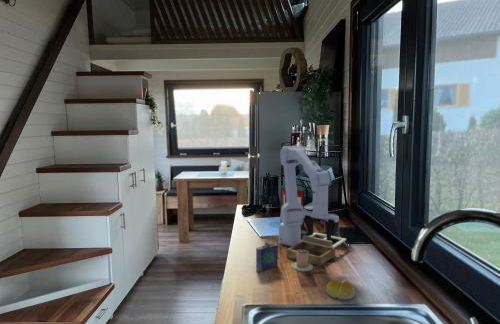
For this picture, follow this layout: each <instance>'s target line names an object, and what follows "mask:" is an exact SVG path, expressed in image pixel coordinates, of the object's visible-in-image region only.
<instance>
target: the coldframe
mask: <svg viewBox="0 0 500 324" xmlns="http://www.w3.org/2000/svg"><path fill="white" fill-rule="evenodd" d="M301 249H303V250H307V251H308V252H309V257H308V263H311V264H312V265H315V266H316V265H317V266H319V267H321V266H323V264H326V263H327V262H328V261H330V260H331V259H332V258H334V257H335V256H336V247H335V248H334V249H332V248H328V247H324V246H319V245H315V244H310V243H306V242H302V241H301V242H300V243H298V244H296V245H294V246H290V247H289V248H287V249H286V258H289V259H292V260H297V250H301Z"/></svg>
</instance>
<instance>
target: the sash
mask: <svg viewBox="0 0 500 324" xmlns="http://www.w3.org/2000/svg"><path fill="white" fill-rule="evenodd" d="M315 236H320V238H318V237H315ZM321 237H323V238H321ZM324 237H326V238H324ZM331 238H334V239H339V240H338V241H337V242H336V243H335V242H334V244H333V242H332V241H329V240H327V235H325V234H324V233H320V232H313V235H311V236H309V235H305V234H304V235H302V238H301V241H302V242H306V243H310V244H315V245H319V246H324V247H328V248H332V249H334V248H335V249H336V248H337V247H338V246H340V245H341V244H342V243H344V242H346V241H347V238H345V237H340V236H339V237H335V236H331Z"/></svg>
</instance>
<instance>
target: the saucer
mask: <svg viewBox="0 0 500 324" xmlns="http://www.w3.org/2000/svg"><path fill="white" fill-rule="evenodd" d="M291 268H292V269H293V270H295V271H299V272H308V271H309V272H310V271H311V270H313V269H314V264H312V263H308V267H307V268H300V267H297V261H295V262H292V264H291Z"/></svg>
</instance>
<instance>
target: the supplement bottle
mask: <svg viewBox="0 0 500 324" xmlns="http://www.w3.org/2000/svg"><path fill="white" fill-rule="evenodd" d="M331 214H332V215H335V216H339V215H338V214H336V213H331ZM327 221H328V220H324V227H323V232H324V233H323V234H325V235H327V228H326V222H327ZM340 226H341V225H340V220H339V221H338V222H337V223H336V225H335V227H334V229H333V232H332V235H331V236H335V237H340ZM324 238H326V237H324V236H323V239H324ZM329 241H332V243H335V242H336V243H337V242H339V241H340V240H339V239H334V238H331V239H329Z"/></svg>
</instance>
